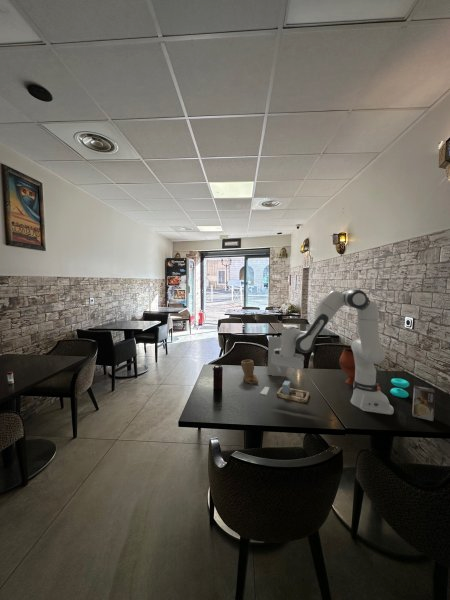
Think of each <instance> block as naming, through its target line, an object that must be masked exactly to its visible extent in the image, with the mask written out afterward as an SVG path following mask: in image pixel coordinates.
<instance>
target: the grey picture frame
mask: <svg viewBox="0 0 450 600" xmlns="http://www.w3.org/2000/svg"><path fill="white" fill-rule="evenodd" d="M412 393H413V394H412V410H411V411H412V412H411V413H412V417H414V418H418V419H423V420H427V421H431V422H434V418H435V417H434V416H435V403H436V392H435V389H434V388H430V387H425V386H419V385H413V392H412Z"/></svg>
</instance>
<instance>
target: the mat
mask: <svg viewBox="0 0 450 600" xmlns="http://www.w3.org/2000/svg"><path fill="white" fill-rule="evenodd" d="M269 390H270V386H264V388H263V389H262V390H261V391H260V392H259V395H263V396H267V394H268V392H269Z"/></svg>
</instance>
